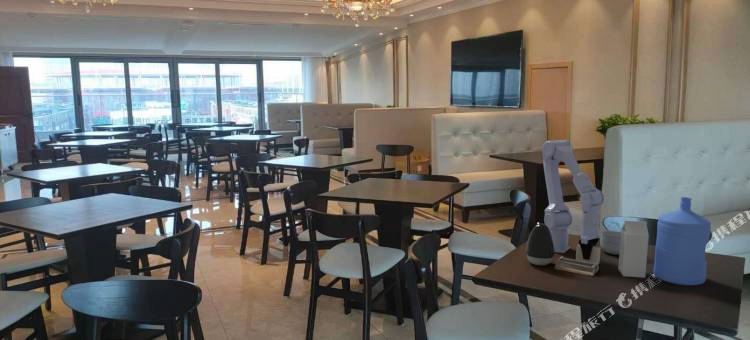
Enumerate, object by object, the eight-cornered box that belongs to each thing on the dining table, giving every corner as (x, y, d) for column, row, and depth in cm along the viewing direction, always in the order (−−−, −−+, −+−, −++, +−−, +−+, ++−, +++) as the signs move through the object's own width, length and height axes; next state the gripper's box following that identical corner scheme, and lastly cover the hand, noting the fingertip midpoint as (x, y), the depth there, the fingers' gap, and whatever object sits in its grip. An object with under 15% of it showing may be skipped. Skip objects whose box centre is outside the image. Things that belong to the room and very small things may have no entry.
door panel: (577, 259, 204) (578, 243, 203) (599, 263, 199) (600, 247, 198) (575, 260, 202) (576, 245, 201) (598, 264, 197) (599, 248, 197)
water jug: (678, 288, 174) (686, 204, 170) (642, 272, 189) (649, 194, 185) (716, 283, 178) (725, 201, 174) (678, 268, 193) (685, 192, 189)
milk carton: (645, 278, 183) (649, 224, 180) (623, 276, 185) (627, 223, 182) (639, 271, 190) (643, 219, 187) (618, 269, 192) (622, 218, 189)
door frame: (562, 262, 200) (562, 255, 199) (598, 269, 192) (599, 261, 192) (554, 268, 192) (555, 261, 192) (592, 276, 185) (593, 268, 185)
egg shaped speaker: (550, 259, 203) (552, 220, 201) (556, 268, 193) (559, 227, 190) (523, 258, 204) (524, 219, 202) (527, 267, 194) (529, 226, 191)
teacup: (593, 250, 214) (594, 231, 213) (612, 247, 219) (614, 228, 218) (622, 260, 202) (623, 240, 201) (642, 256, 206) (643, 236, 205)
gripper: (596, 228, 190) (594, 265, 192) (606, 220, 202) (603, 254, 204) (576, 225, 194) (574, 261, 196) (586, 217, 206) (584, 251, 208)
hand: (587, 257), depth 200 cm, fingers open, 4 cm apart
